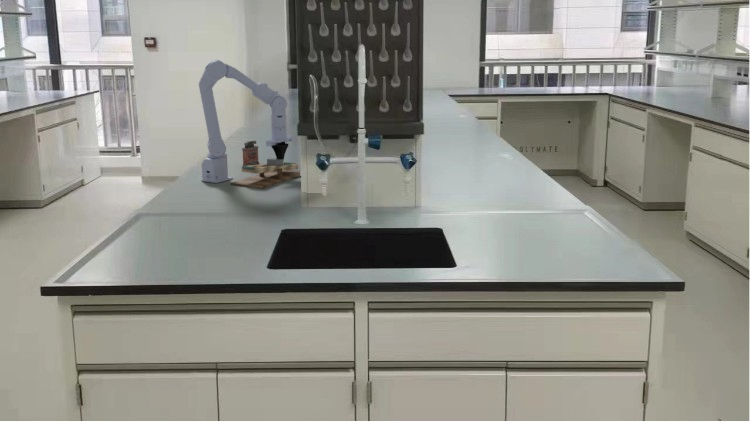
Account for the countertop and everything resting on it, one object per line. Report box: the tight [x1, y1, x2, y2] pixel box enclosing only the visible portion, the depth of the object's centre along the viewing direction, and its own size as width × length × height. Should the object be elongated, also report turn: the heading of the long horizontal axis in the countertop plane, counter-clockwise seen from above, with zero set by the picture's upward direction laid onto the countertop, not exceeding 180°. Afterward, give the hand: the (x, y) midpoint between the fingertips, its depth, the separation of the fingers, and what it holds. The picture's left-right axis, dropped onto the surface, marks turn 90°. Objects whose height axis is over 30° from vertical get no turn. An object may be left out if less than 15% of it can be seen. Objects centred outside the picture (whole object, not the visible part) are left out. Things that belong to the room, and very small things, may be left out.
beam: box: [241, 161, 299, 175], centre depth 270 cm, size 27×7×2 cm, turn 152°
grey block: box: [266, 157, 284, 167], centre depth 272 cm, size 5×4×3 cm
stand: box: [230, 168, 301, 190], centre depth 271 cm, size 30×14×4 cm, turn 152°
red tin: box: [241, 140, 260, 166], centre depth 299 cm, size 8×3×10 cm, turn 143°
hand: (280, 162), depth 275 cm, fingers closed
